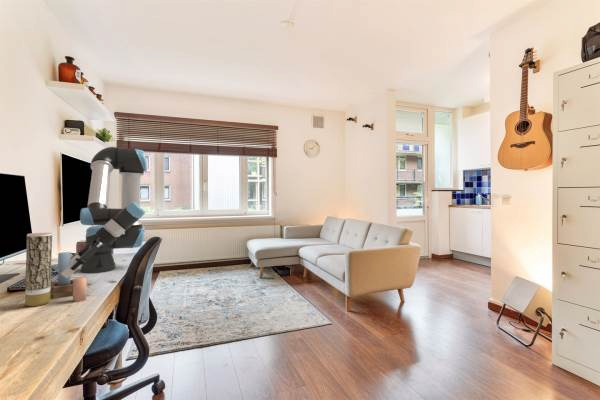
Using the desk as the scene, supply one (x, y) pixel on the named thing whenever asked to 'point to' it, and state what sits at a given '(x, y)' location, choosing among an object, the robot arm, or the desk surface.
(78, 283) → the terracotta pin
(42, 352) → the desk surface
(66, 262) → the slate-blue pin
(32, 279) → the bark-patterned canister
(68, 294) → the walnut socket block
